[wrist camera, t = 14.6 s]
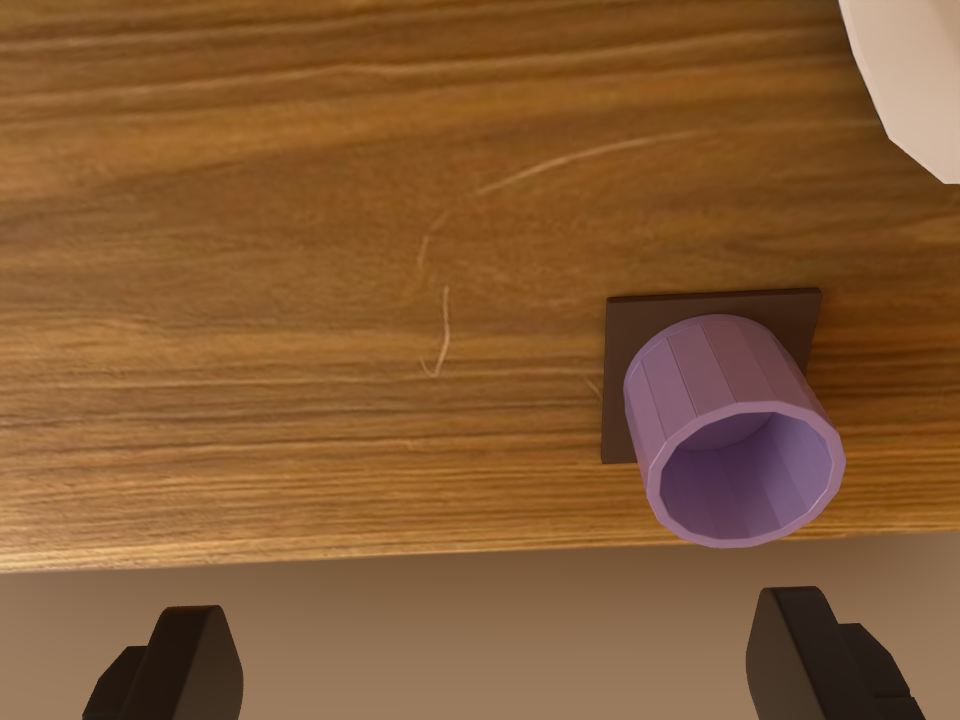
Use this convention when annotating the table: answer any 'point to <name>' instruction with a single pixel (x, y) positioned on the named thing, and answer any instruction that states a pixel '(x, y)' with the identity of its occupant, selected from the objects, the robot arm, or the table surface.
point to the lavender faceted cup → (729, 433)
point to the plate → (912, 74)
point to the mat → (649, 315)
